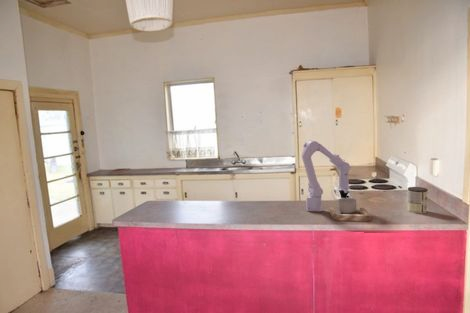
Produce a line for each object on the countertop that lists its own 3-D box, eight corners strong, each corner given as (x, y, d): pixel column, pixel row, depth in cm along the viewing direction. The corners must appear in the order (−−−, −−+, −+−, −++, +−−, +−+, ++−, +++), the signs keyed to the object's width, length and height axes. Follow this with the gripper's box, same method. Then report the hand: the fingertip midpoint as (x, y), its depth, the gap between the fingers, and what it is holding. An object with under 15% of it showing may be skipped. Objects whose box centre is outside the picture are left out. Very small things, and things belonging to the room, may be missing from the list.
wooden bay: (333, 220, 177) (333, 215, 177) (329, 211, 194) (329, 207, 194) (370, 221, 174) (370, 215, 174) (363, 212, 191) (363, 207, 190)
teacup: (357, 215, 185) (358, 202, 185) (338, 214, 187) (338, 201, 186) (353, 209, 199) (353, 196, 198) (335, 208, 201) (335, 196, 200)
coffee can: (407, 208, 197) (407, 186, 196) (426, 210, 193) (426, 187, 191) (407, 212, 188) (407, 189, 187) (427, 214, 184) (428, 190, 182)
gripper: (352, 182, 192) (352, 204, 193) (348, 178, 206) (347, 199, 207) (340, 182, 193) (340, 204, 194) (337, 178, 207) (336, 198, 208)
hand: (343, 201), depth 201 cm, fingers closed
